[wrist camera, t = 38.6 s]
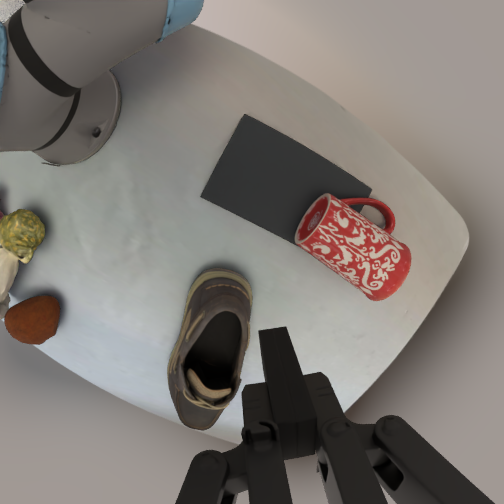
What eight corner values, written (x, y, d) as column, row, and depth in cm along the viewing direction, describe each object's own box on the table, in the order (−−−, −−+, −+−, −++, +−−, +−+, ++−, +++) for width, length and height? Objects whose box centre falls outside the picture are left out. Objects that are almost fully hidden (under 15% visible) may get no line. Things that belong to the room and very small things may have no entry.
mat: (200, 196, 36) (200, 196, 36) (244, 114, 34) (244, 113, 33) (330, 262, 40) (331, 263, 40) (370, 189, 38) (372, 189, 37)
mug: (280, 256, 37) (357, 301, 40) (315, 244, 29) (401, 301, 31) (315, 180, 40) (381, 228, 43) (351, 154, 32) (422, 215, 34)
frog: (17, 321, 37) (75, 257, 38) (-34, 328, 24) (19, 250, 25) (-6, 266, 37) (47, 200, 38) (-55, 262, 25) (-4, 179, 26)
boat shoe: (167, 405, 46) (158, 449, 36) (178, 256, 38) (161, 287, 28) (225, 413, 48) (226, 458, 37) (257, 268, 40) (266, 304, 30)
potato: (59, 283, 40) (74, 323, 42) (7, 295, 36) (24, 333, 39) (49, 305, 33) (69, 349, 36) (-7, 317, 29) (14, 358, 32)
